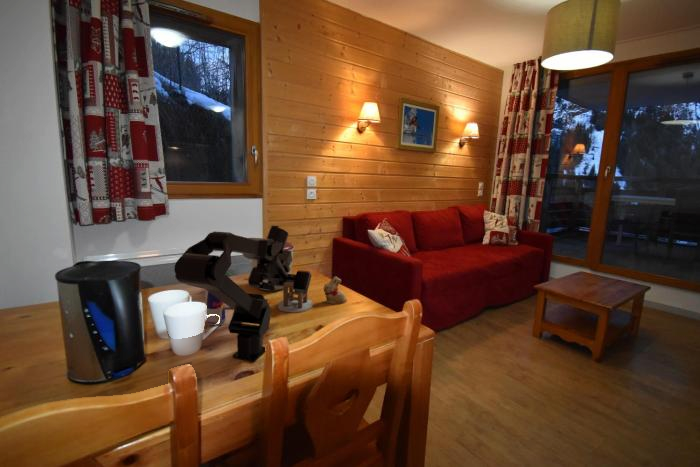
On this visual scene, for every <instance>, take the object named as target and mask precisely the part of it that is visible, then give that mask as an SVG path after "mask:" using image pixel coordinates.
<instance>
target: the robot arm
mask: <svg viewBox="0 0 700 467" xmlns="http://www.w3.org/2000/svg"><path fill="white" fill-rule="evenodd" d="M288 238H289V232H288V231H287V230H285V229H283V228H280V227H279V225H271V227H270V229H269V230H268V233H267V236H266V238H263V237H261V238H260V237H244V236H241V235H237V234H234V233H232V232H228V231H227V232H226V231H212V232H209V233H207V235H206V236H205V238H204V239H202V240H200V241H198V242H196V243H195V244H193V245H191V246H189V247H188V248H187V249H186V250H185V251H184V253H183V254H182V255H181V256H180V257H179V258H178V259H177V261H176V262H175V264H174V273H175V275H174V276H175V279H176V280H177V281H178V282H179V283H181V284H183V285H184V284H185V285H187V286H189V287H190V286H191V287H194V288H199V289H203V290H205V289H206V290H207V291H208V292H210V293H211V294H213V295H214V296H215V297H217V298H218V299H219V300H221V301H222V302H224V303H225V304H226V305H228V306H229V307H230V308H229V309H232V310H233V312H232V316H231V319H230V322H229V324H228V327H227V328H228V332H229V333H230V334H236V341H237V343H236V345H237V346H236V348H237V350H236V352H234V353H233V354H232V358H233V359H239V360H244V361H247V362H256V361H257V360H258V359H260V357H261V356H262V355H263V354H265V353H266V351H265V347H266V346H263V345H264V344H263V336H264V335H265V333H266V332H268V331H269V330H270V322H271V314H272V308H271V307H270V304H269V303H268V301H269V299H266V298H265V297H264V295H262V294H260V293H259V294H258V293H248V292H246V291H245V290H244V289H242V287H240V285H238V284H237V283H236V282H235V281H234V280H232V278H230V277H229V276H228V275H227V273H228V270H229V268H231V266H232V253H236V254H242V256H243V257H244V258H246V259H248V260H251V259H255V260H257V266H256V267H253V268H252V269H251V270H250V273H249V276H248V279H247V284H248V285H249V286H250V288H255V289H259V288H260V289H259V290H261V289H265V290H270V291H271V292H275V291H276V290H275V287H274V286H284V283H285V282H294V284H293V289H294V292H296V293H299V294H301V293H303V292H307V293H308V291H309V288H310V284H311V279H312V273H311V272H310V271H309V270H301V269H300V270H299V269H298V270H297V271H296V274H293V273H291V274H287V273H288V272H289V271H290V267H289V265H290V263H291V262H292V263H293V261H292V255H291V251H286V250H284V247H285V244H286V242H288ZM214 251H219V252H221V254H220V255H216V254H215V255H213V254H211V253H213V252H214ZM265 290H264V291H265ZM274 290H275V291H274ZM270 291H269V292H270Z"/></svg>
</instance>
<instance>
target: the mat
mask: <svg viewBox="0 0 700 467" xmlns="http://www.w3.org/2000/svg"><path fill="white" fill-rule="evenodd" d="M313 305H314V302H313V301H312V300H311V299H308V298H307V303H305V302H303V307H302V308H298V301H297V300H293V301H289V300H288V306H287V307H284V302H283V299H282V300H280V301H279V302H278V304H277V308H278V309H279V310H280V311H282V312H285V313H290V314H291V313H294V314H297V313H298V314H299V313H303V312H306V311H309V310H312V308H313V307H314V306H313Z"/></svg>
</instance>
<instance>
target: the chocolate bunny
mask: <svg viewBox="0 0 700 467" xmlns="http://www.w3.org/2000/svg"><path fill="white" fill-rule="evenodd" d="M341 283H342V279H341V278H339V277H338V276H336V275H335V276H333V277H332V279H331V280H330V281H329V282H327V283H324V286H323V292H324V295H325V298H326V299H325V303H326V304H330V305H341V304H345V303H346V302H348V298H347V297H346V295H345V293H344V292H343V291H342V290H340V289H339V285H340V284H341Z"/></svg>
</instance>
